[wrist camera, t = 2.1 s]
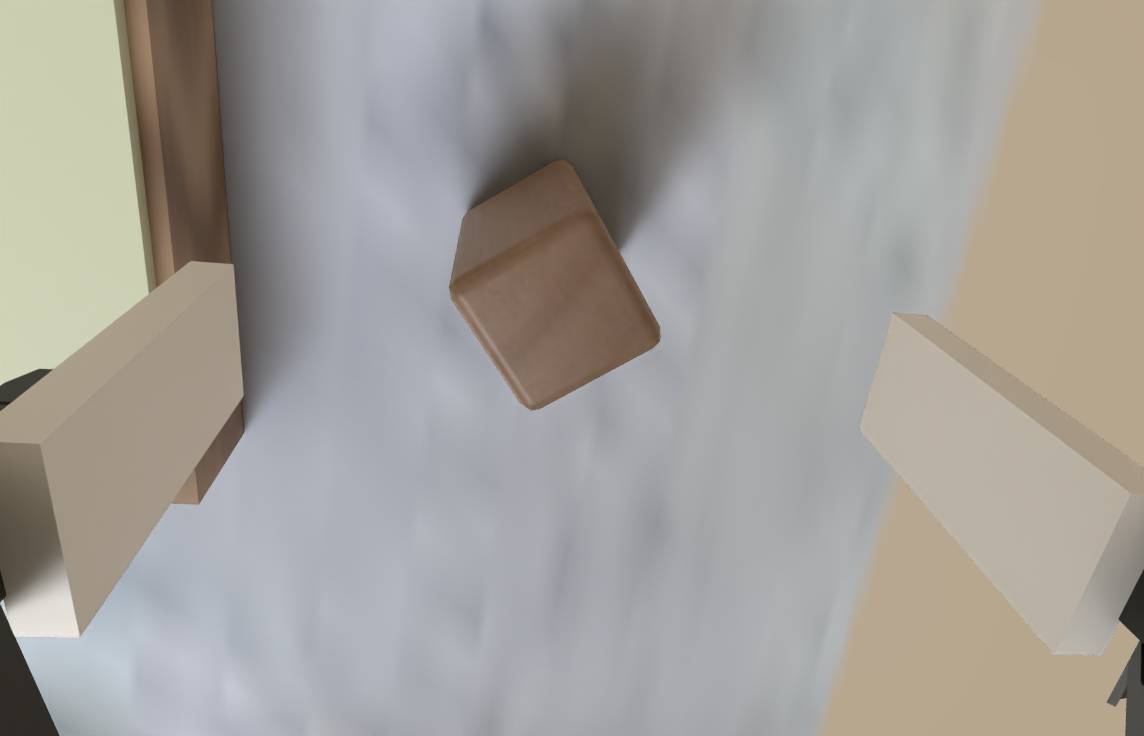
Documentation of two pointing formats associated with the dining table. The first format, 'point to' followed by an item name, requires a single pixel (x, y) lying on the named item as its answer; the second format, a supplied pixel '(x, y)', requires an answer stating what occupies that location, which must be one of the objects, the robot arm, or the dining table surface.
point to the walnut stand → (105, 174)
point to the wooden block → (548, 287)
